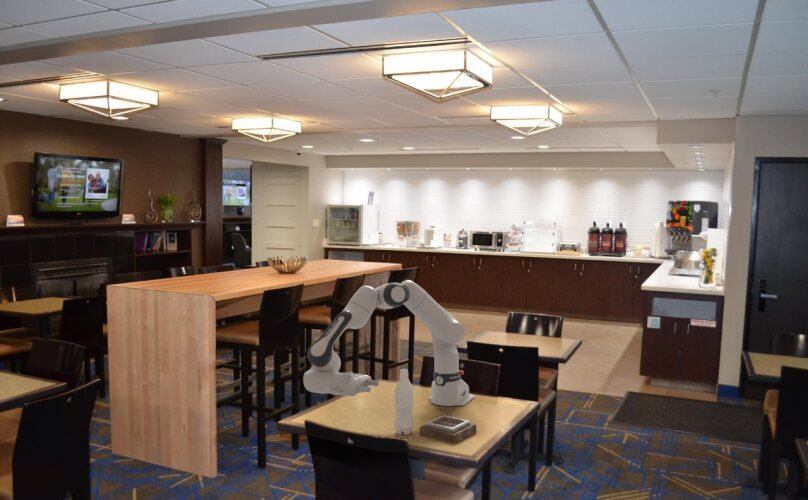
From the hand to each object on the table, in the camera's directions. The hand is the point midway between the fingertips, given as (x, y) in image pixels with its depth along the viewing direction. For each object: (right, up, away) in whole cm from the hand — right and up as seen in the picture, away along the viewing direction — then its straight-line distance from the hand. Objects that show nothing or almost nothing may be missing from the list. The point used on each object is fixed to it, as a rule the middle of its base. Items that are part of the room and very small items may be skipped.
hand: (374, 386), depth 256 cm
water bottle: (+12, -18, -3) cm, 21 cm away
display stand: (+29, -17, -3) cm, 34 cm away
